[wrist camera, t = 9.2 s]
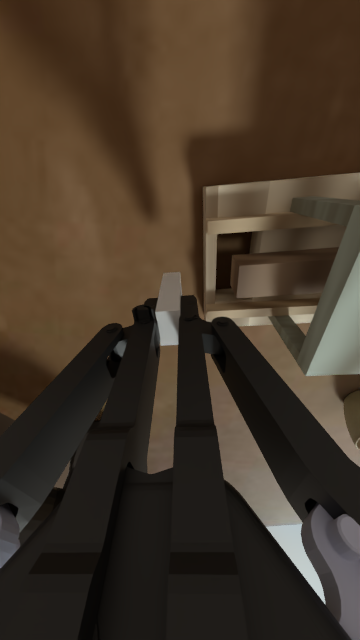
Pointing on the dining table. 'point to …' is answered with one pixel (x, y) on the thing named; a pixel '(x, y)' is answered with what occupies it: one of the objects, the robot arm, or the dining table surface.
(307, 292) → the tan wooden bar
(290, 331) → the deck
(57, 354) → the dining table surface
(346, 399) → the flower pot
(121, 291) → the dining table surface
